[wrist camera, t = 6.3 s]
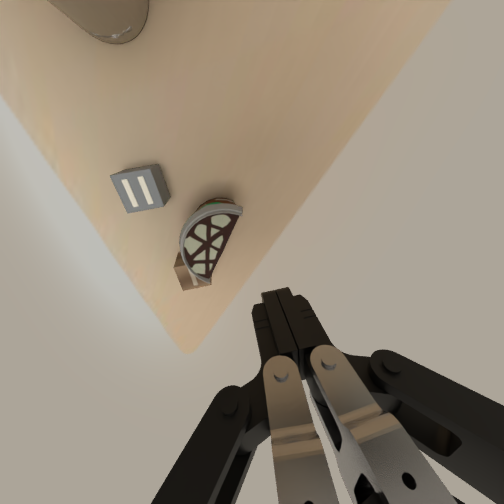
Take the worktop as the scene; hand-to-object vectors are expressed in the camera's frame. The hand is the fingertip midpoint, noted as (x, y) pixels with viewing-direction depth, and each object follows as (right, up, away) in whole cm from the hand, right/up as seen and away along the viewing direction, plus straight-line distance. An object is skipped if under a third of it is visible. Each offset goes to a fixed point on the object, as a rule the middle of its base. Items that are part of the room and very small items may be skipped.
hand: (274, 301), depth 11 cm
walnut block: (-12, +1, +28) cm, 31 cm away
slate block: (-17, +13, +20) cm, 30 cm away
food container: (-9, +9, +24) cm, 27 cm away
